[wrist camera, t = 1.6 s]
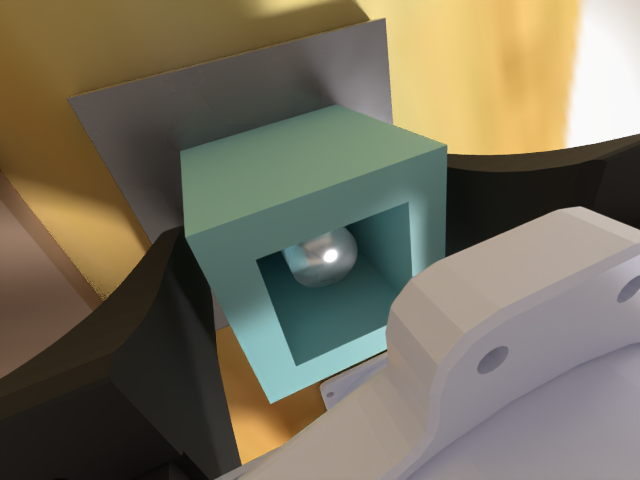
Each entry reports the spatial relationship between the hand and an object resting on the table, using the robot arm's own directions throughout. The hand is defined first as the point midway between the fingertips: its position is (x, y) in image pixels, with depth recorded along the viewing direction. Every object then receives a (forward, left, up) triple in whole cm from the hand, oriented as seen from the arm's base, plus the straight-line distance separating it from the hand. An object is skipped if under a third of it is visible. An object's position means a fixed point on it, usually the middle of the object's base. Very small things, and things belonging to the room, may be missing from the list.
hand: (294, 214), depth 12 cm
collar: (0, 0, -2) cm, 2 cm away
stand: (0, 0, -3) cm, 3 cm away
